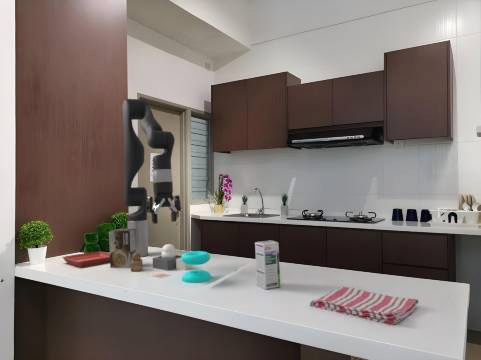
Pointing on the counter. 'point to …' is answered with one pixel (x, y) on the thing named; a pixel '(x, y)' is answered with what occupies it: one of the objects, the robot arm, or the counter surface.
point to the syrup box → (267, 264)
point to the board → (161, 266)
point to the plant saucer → (88, 259)
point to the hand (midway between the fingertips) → (164, 222)
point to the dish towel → (366, 305)
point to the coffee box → (122, 247)
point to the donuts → (196, 259)
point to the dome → (168, 251)
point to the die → (181, 265)
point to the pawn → (136, 263)
